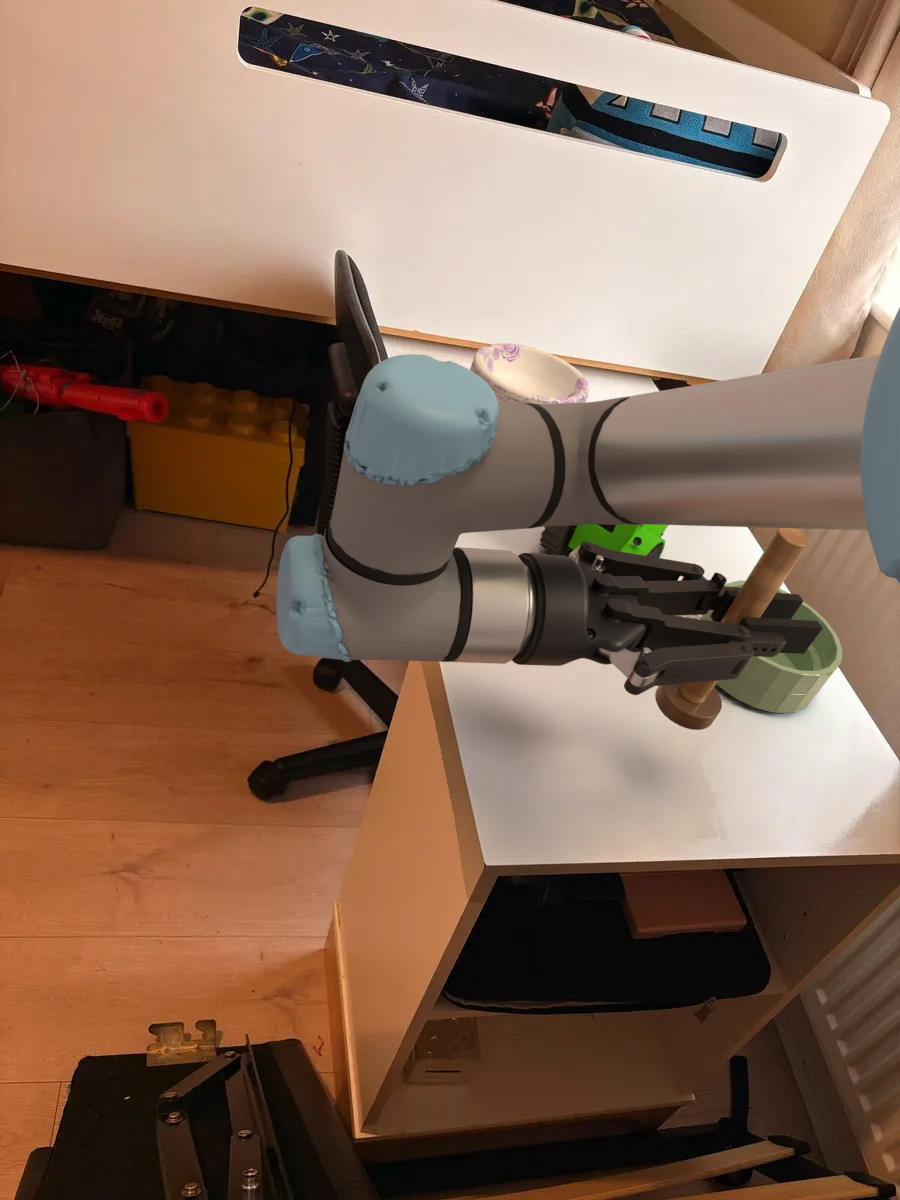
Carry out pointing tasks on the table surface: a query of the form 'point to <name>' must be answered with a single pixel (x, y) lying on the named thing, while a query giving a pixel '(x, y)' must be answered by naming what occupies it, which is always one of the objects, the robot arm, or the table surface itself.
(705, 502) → the robot arm
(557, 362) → the paper bowls
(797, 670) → the bowl
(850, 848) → the table surface
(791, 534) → the brown rod with base
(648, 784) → the table surface
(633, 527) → the toy tractor
